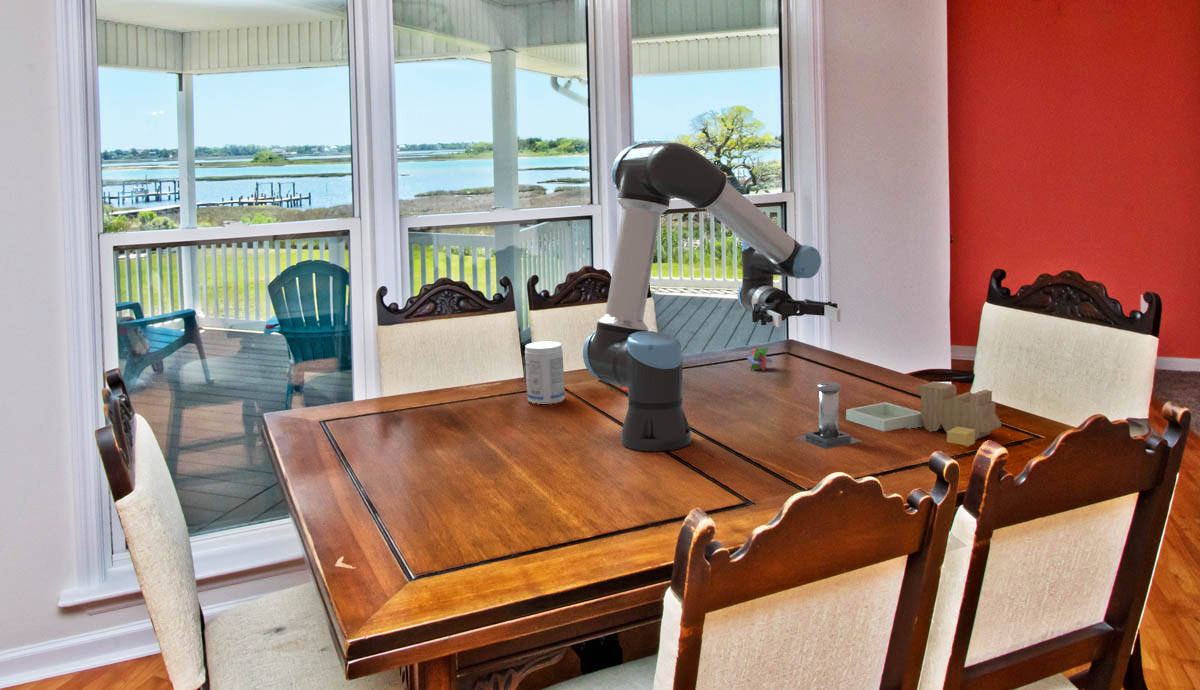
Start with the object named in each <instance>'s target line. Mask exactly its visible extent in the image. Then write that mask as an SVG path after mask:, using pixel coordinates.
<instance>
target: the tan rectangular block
mask: <svg viewBox="0 0 1200 690" xmlns="http://www.w3.org/2000/svg"><path fill="white" fill-rule="evenodd" d="M946 443H948V444H949V443H950V444H956V445H961V446H964V447H968V446H969V447H971V446H973V445H975V443H976V440H975V429H970V428H964V427H958V426H957V427H955V428H953V429H951V430H949V431H947V433H946ZM972 444H973V445H972ZM970 445H971V446H970Z"/></svg>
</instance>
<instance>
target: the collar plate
mask: <svg viewBox="0 0 1200 690" xmlns="http://www.w3.org/2000/svg"><path fill="white" fill-rule="evenodd" d="M794 439H796V440H800V441H803V442H806V443H807V444H808V443H809V444H811V445H813V446H816V447H819V448H821V449H825V450H827V449H832V448H837V447H842V446H846V445H851V444H856V443H862V442H863V441H862V440H860V439H857V438H855V437H852V435H851V434H850V433H846V432H843V431H839V430H838V436H837V437H832V438H824V437H821V436H819V429H818V430H812V431H809V432H807V431H806V432H805V435H801V436H796V437H795V436H794Z"/></svg>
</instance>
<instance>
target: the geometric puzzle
mask: <svg viewBox="0 0 1200 690" xmlns="http://www.w3.org/2000/svg"><path fill="white" fill-rule="evenodd" d="M768 349H769V348H768V347H763V348H759V347H755V346H753V347H752V349H751V350H750V355H746V356H744V357H745V359H746V360H748V361H749V363H750V367H749V366H748V368H749V370H750V369H751V370H750V371H753V370H752V369H754V370H759V369H758V368H760V371H762V372H765V370H766V369H768V367H767V365H769V364H772V362H773V361H774V360H772V358H771V359H770V358H769V356H768V355H769V354H768V353H769V350H768ZM766 354H767V355H766ZM748 361H746V362H747V364H749V363H748ZM767 363H768V364H767Z"/></svg>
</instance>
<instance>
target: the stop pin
mask: <svg viewBox="0 0 1200 690" xmlns="http://www.w3.org/2000/svg"><path fill="white" fill-rule="evenodd" d="M816 385H817V386H816V387H817V390H818V392H819V393H818V394H819V395H818V430H819V436H821V437H824V438H832V437H837V436H838V431H839V395H840V392H839V391H841V390H842V389H841V388H842V387H841V386H842V384H841V383H839V382H836V381H821V382H818V383H817V384H816Z"/></svg>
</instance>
